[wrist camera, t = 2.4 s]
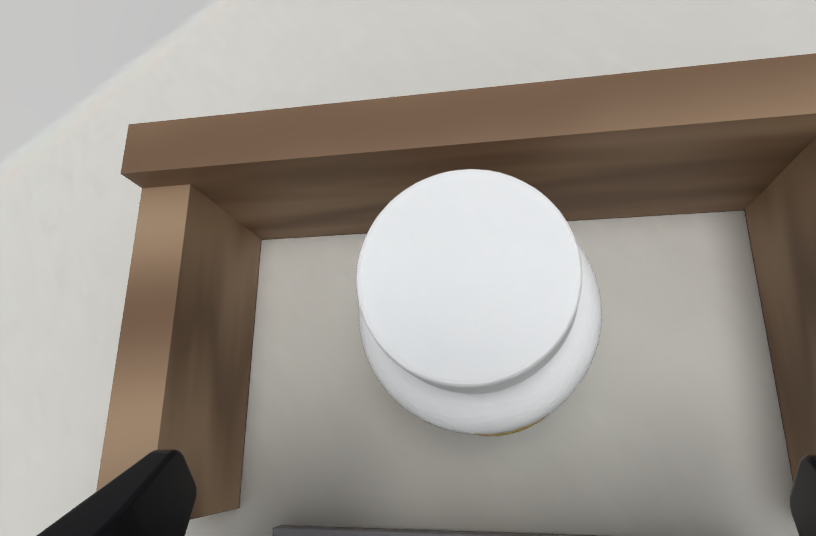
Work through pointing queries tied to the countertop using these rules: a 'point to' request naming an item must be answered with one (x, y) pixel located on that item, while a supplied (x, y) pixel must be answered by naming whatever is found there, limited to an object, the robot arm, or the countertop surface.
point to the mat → (386, 532)
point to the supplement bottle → (476, 303)
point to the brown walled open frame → (422, 158)
